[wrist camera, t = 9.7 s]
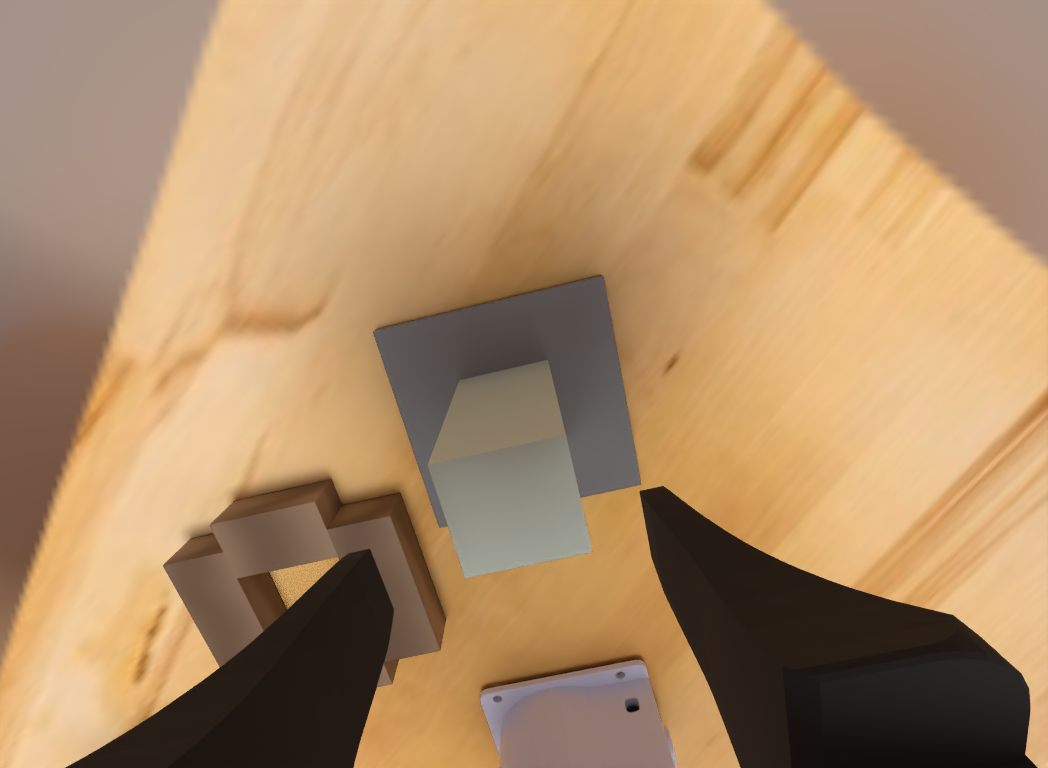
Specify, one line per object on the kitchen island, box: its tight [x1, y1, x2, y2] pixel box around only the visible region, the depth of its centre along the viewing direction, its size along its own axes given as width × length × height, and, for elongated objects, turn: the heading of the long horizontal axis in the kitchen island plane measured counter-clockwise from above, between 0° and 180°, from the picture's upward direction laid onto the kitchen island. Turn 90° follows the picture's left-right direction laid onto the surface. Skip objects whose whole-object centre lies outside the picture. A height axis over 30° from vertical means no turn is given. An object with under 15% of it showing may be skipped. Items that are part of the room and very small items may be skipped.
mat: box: [373, 275, 641, 528], centre depth 22 cm, size 10×10×1 cm
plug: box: [428, 360, 593, 578], centre depth 18 cm, size 4×4×8 cm
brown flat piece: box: [163, 480, 446, 687], centre depth 24 cm, size 11×11×2 cm
